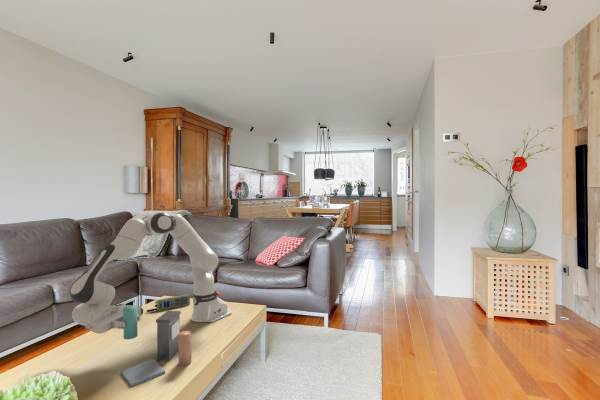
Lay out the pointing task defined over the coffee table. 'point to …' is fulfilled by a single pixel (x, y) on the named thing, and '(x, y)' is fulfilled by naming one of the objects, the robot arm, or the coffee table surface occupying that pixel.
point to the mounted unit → (168, 335)
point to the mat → (142, 372)
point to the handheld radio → (171, 302)
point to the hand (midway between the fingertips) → (132, 321)
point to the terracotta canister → (184, 348)
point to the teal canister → (130, 322)
